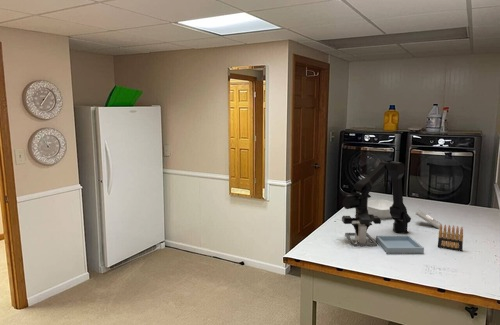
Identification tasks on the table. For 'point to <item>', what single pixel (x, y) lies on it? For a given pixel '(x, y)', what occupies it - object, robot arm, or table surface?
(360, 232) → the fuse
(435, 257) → the table surface
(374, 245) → the holder frame
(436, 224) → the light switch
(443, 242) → the ammunition clip
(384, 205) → the white bowl
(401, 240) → the tray
